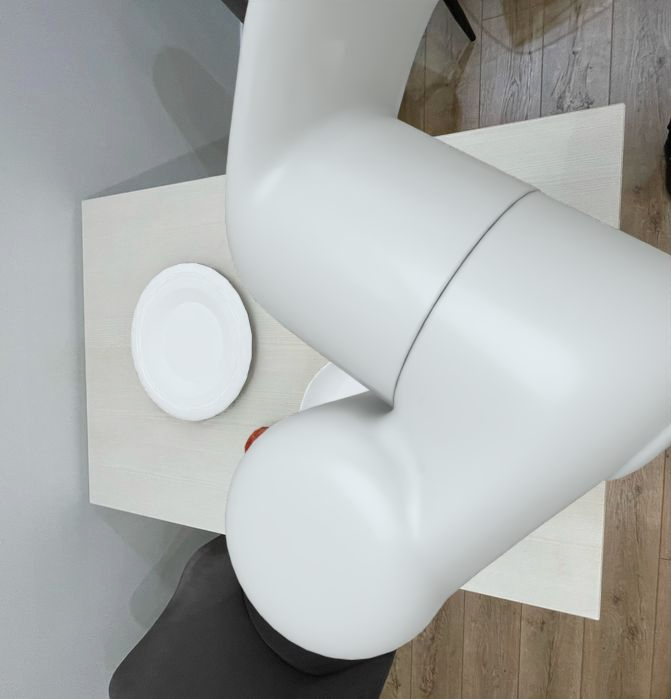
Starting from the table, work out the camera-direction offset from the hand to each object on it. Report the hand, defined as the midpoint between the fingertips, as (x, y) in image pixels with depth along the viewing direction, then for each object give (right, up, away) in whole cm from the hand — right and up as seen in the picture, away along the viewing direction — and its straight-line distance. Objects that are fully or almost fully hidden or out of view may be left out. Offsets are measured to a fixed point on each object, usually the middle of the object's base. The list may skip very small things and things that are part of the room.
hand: (503, 400), depth 42 cm
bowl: (-6, -6, +30) cm, 31 cm away
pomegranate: (-21, -10, +38) cm, 44 cm away
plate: (-36, +5, +44) cm, 57 cm away
